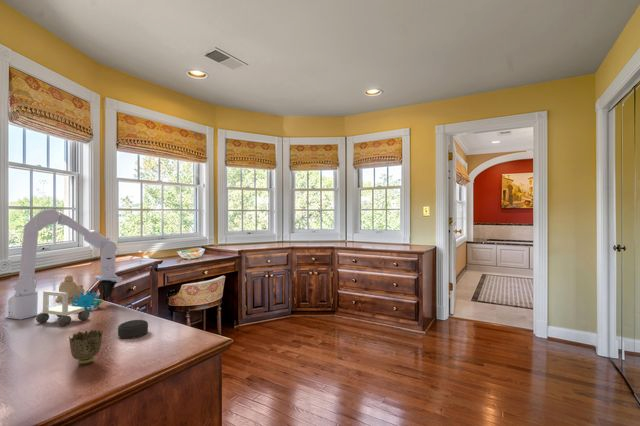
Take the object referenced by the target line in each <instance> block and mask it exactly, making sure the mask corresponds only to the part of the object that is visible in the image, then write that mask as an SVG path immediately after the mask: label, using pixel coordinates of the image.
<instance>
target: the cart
mask: <svg viewBox="0 0 640 426" xmlns="http://www.w3.org/2000/svg"><path fill="white" fill-rule="evenodd" d="M50 296H54V297H58V296H62V303H61V304H60V305H57V306H52V307H49V306H50V305H49V303H50ZM77 313H78V315H77V318H78V320H79V321H86V320H88V319H89V317H90V315H91V314H90V311H88V310H86V309H85V310H84V307H80V306H77V307H75V306H72V305H69V302H68V293H65V292H59V291H54V290H43V292H42V312H41V313H40V314H38V315H37V316H35V321H36V322H37V323H41V324H44V323H46V322H48V321H49V319H50V315H55V316H56V317H57V318H59V319H58V325H59V326H62V327H67V326H69V325H70V324H71V322H72V317H71V316H70V315H74V314H77Z"/></svg>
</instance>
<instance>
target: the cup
mask: <svg viewBox="0 0 640 426" xmlns="http://www.w3.org/2000/svg"><path fill="white" fill-rule="evenodd" d="M103 333H104V332H103V330H100V329H98V330H96V329H94V330H93V329H91V330H90V331H89V332H88V331H87V330H85V331H84V332H82V331H78V332H77V333H73V334H72V337H71V336H69V337H68V340H69V347H70V353H71V356H72V357H73V359H75V360H77V364H78V365H79V366H87V365H90V364H92V363H93V362H94V360H95V356H96V355H98V353H99V351H100V349H101V346H102V338H103Z"/></svg>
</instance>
